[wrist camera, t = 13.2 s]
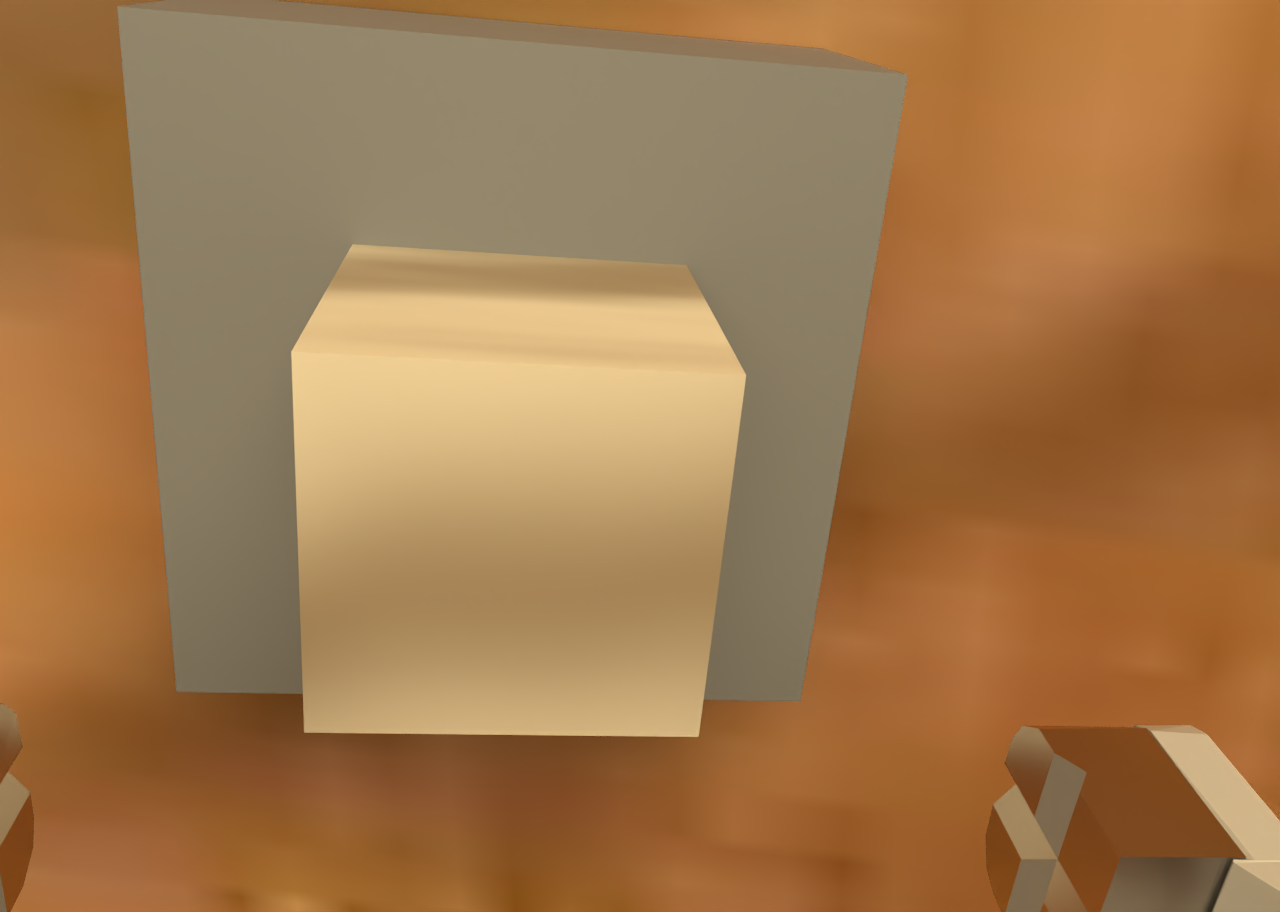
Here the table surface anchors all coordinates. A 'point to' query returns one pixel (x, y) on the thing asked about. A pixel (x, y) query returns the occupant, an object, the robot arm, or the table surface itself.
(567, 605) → the ash cube
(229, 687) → the grey block
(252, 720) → the table surface
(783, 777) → the table surface
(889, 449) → the table surface
